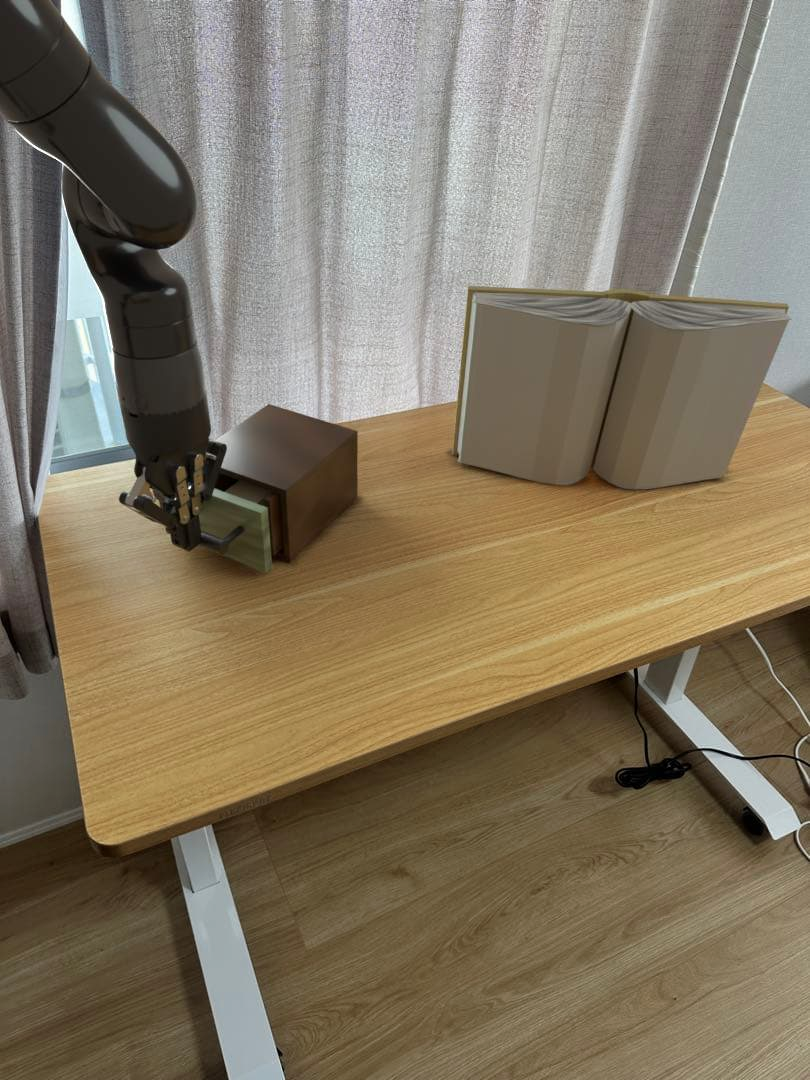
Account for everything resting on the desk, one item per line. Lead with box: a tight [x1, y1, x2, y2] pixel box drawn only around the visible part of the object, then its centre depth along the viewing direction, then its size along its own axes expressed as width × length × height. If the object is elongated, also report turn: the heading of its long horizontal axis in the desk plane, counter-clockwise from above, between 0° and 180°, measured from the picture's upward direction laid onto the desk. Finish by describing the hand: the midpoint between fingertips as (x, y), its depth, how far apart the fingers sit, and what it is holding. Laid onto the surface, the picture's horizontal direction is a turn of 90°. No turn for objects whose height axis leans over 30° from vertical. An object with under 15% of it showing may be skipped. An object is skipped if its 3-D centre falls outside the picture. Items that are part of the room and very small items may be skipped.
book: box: [451, 285, 793, 491], centre depth 98 cm, size 36×8×24 cm, turn 87°
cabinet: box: [214, 403, 359, 563], centre depth 94 cm, size 15×13×10 cm
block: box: [225, 480, 272, 506], centre depth 89 cm, size 4×4×4 cm
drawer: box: [165, 473, 284, 573], centre depth 89 cm, size 18×11×8 cm, turn 152°
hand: (187, 545), depth 81 cm, fingers closed
